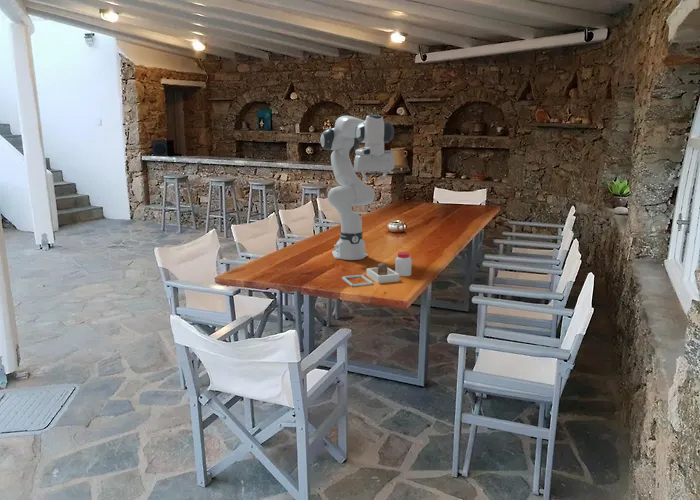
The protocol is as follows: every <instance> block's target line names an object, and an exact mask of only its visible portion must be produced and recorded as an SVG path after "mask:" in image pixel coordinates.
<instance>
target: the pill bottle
mask: <svg viewBox="0 0 700 500" xmlns="http://www.w3.org/2000/svg"><path fill="white" fill-rule="evenodd" d="M394 260H395V261H394V262H395V263H394V266H395V267H394V271H395V272H396V273H398V274H399V277H409V276H411V275H412V263H413V262H412V261H413V260H412V257H411V256H410V252H407V251H399V252H397V256H396V257H395V259H394Z"/></svg>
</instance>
